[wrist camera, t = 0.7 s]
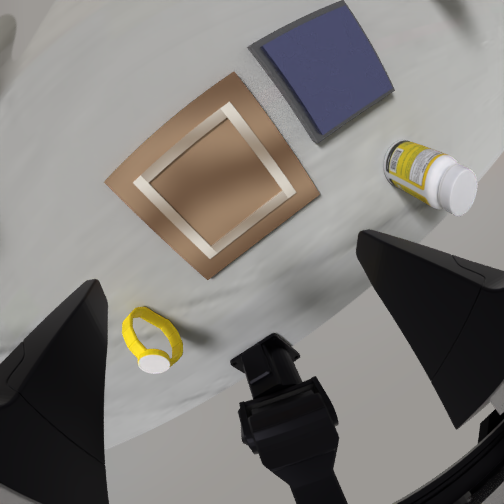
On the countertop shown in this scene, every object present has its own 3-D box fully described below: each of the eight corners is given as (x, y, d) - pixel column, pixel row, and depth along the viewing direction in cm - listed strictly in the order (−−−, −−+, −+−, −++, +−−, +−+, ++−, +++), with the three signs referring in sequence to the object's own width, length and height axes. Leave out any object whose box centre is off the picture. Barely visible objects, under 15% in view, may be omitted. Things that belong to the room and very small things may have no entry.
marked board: (316, 192, 24) (320, 195, 23) (206, 276, 25) (207, 281, 24) (232, 72, 17) (234, 71, 16) (105, 179, 19) (103, 182, 18)
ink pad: (387, 89, 20) (398, 91, 19) (312, 140, 21) (321, 144, 20) (337, 2, 15) (346, -2, 14) (247, 47, 16) (252, 43, 15)
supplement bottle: (419, 174, 25) (479, 206, 18) (387, 193, 25) (447, 232, 18) (411, 132, 22) (479, 156, 15) (377, 149, 23) (445, 178, 16)
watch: (184, 320, 28) (193, 368, 23) (168, 335, 28) (174, 382, 23) (134, 293, 24) (133, 344, 19) (119, 311, 25) (117, 361, 20)
